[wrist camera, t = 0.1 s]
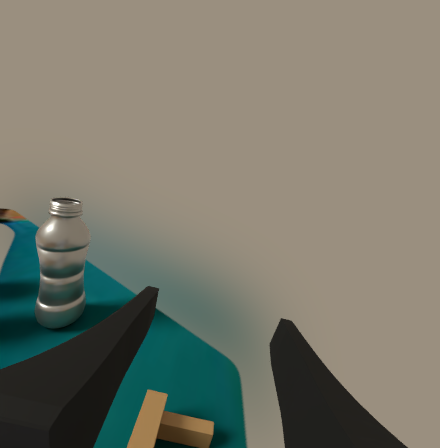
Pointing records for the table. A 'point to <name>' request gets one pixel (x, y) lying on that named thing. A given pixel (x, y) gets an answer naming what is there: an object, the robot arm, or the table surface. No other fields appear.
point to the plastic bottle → (62, 264)
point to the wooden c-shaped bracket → (168, 425)
